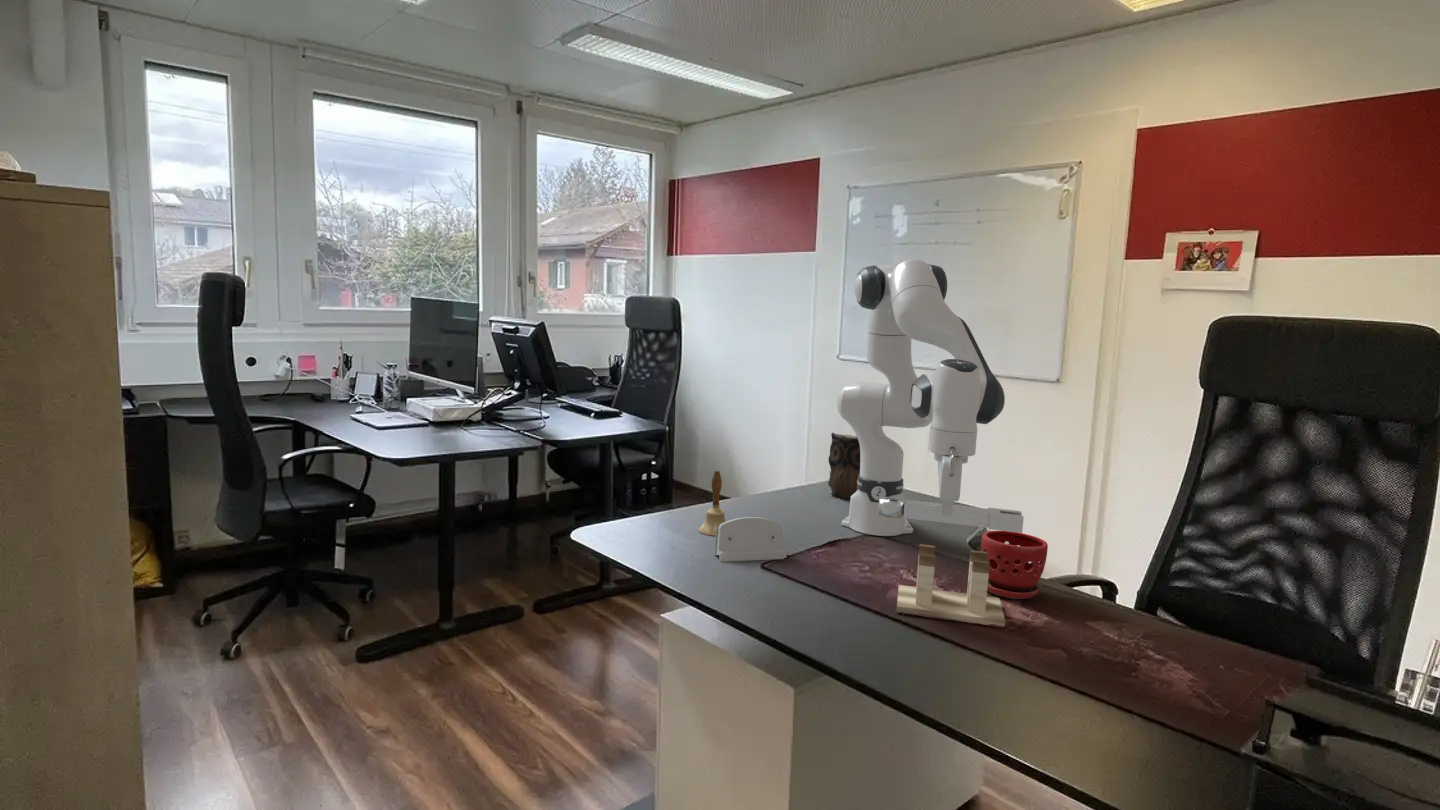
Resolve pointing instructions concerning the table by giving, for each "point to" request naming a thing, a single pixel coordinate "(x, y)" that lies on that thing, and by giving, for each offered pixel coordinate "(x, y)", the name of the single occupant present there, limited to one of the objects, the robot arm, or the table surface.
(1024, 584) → the plant pot
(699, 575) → the table surface
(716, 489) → the hand bell
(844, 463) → the owl
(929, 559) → the tool rest
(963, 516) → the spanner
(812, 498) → the table surface
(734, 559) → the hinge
